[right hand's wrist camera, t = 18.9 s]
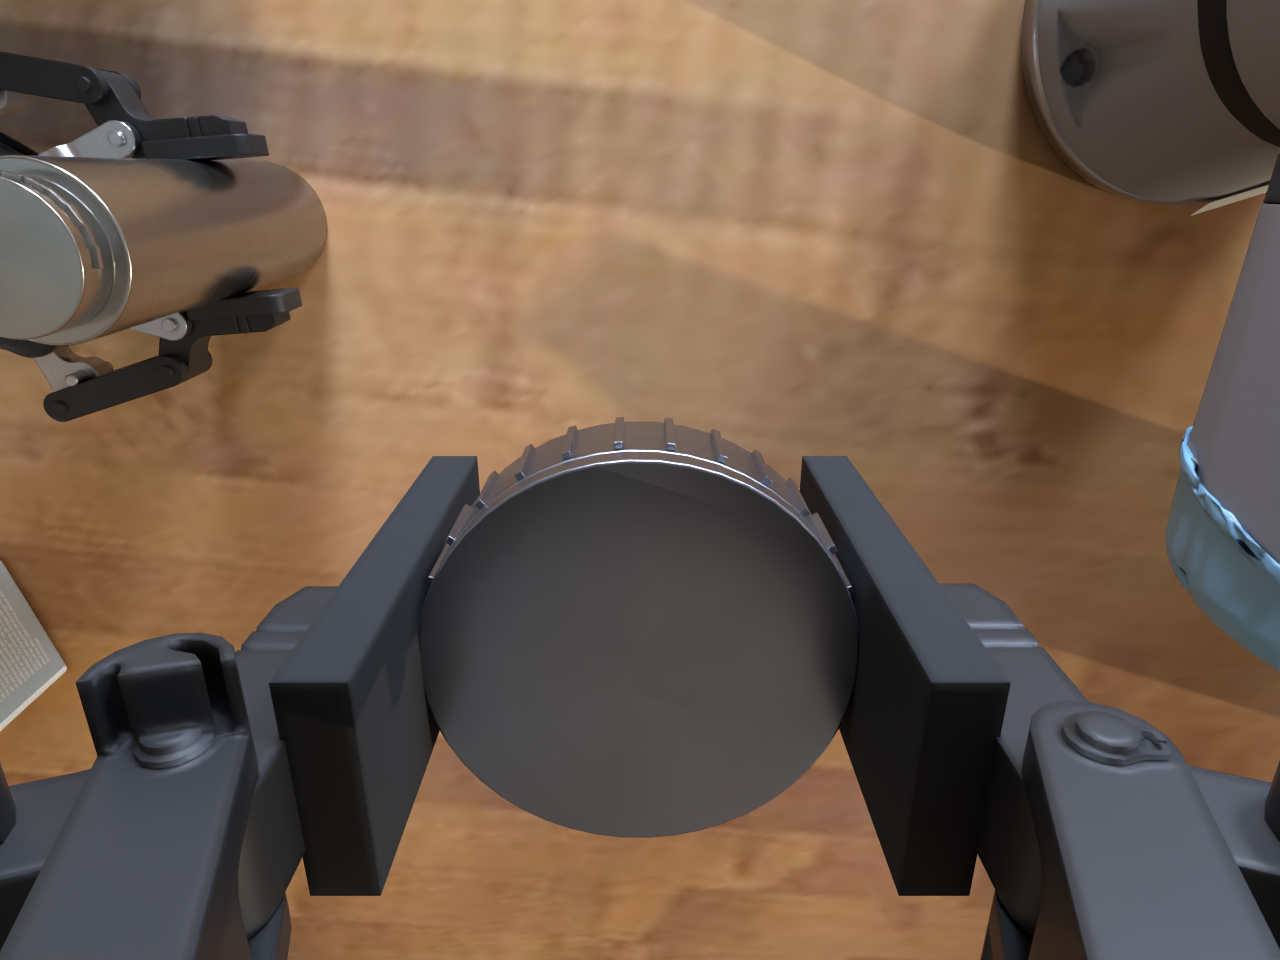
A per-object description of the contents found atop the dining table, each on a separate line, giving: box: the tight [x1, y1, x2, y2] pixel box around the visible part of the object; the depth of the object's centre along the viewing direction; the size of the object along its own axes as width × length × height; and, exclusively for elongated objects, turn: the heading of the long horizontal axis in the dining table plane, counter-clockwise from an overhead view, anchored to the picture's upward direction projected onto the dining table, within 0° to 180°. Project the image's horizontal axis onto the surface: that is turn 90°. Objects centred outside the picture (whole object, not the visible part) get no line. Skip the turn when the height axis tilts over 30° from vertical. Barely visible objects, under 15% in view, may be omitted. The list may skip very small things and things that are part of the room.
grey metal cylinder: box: [0, 155, 327, 346], centre depth 28 cm, size 5×5×17 cm
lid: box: [419, 417, 859, 838], centre depth 11 cm, size 6×6×2 cm
